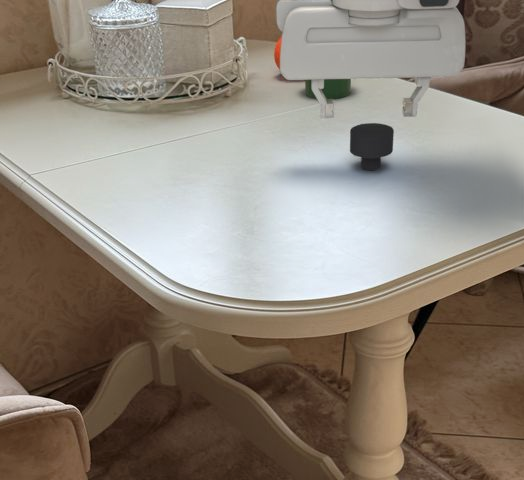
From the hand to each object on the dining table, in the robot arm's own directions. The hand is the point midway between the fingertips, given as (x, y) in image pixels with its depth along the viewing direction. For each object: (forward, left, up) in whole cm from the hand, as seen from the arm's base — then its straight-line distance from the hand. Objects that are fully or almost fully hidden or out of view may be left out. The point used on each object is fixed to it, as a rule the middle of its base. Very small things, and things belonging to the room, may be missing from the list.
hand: (368, 116), depth 91 cm
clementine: (+8, -41, -6) cm, 42 cm away
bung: (-1, 0, -6) cm, 6 cm away
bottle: (+3, -31, -6) cm, 32 cm away
